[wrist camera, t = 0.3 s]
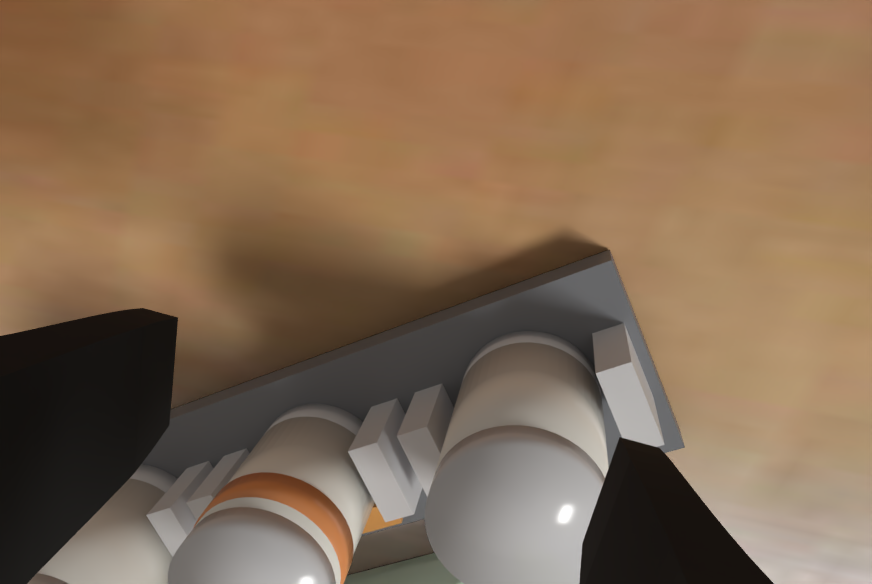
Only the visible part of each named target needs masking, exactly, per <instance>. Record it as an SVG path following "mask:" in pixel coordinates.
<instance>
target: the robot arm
mask: <svg viewBox="0 0 872 584" xmlns="http://www.w3.org/2000/svg"><path fill="white" fill-rule="evenodd" d="M177 322H178V318H177V317H174V316H170V315H166V314H162V313H159V312H155V311H151V310H148V309H144V308H140V309H130V310H123V311H117V312H111V313H106V314H101V315H96V316H91V317H87V318H82V319H78V320H73V321H69V322H64V323H59V324H55V325H50V326H46V327H41V328H37V329H32V330H28V331H23V332H19V333H14V334H9V335H3V336H0V584H27V583H28V582H29V581H30V580H31V579H32V578H33V577H34V576H35V575H36V574H37V573H38V572H39V571H40V570H41V569H42V568H43V567H44V566H45V565H46V564H47V563H48V561H49V560H50V559H51V558H52V557H53V556H54V555H55V554H56V553H57V552H58V551H59V550H60V549H61V548H62V547H63V546H64V545H65V544H66V543H67V542H68V541H69V540H70V539H71V538H72V537H73V536H74V535H75V534H76V533H77V532H78V531H79V530H80V529H81V528H82V527H83V526H84V525H85V524H86V523H87V522H88V521H89V520H90V519H91V518H92V517H93V516H94V515H95V514H96V513H97V512H98V511H99V510H100V509H101V508H102V507H103V506H104V505H105V503H106V502H107V501H108V500H109V499H110V498H111V497H112V496H113V495H114V494H115V493H116V492H117V491H118V490H119V489H120V488H121V487H122V486H123V485H124V484H125V483H126V482H127V481H128V479H129V478H130V477H131V476H132V475H133V474H134V473H135V472H136V471H137V469H138V468H139V467H140V465H141V464H142V463H143V461H144V460H145V459H146V457H147V456H148V455H149V453H150V452H151V451H152V449H153V448H154V446H155V445H156V444H157V442H158V441H159V439H160V438H161V437H162V435H163V434H164V432H165V431H166V429H167V428H168V427H169V424H170V411H171V398H172V386H173V373H174V360H175V347H176V335H177ZM579 584H773V582H772V581H771V580H770V579H769V578H768V577H767V576H766V575H765V574H764V573H763V572H762V570H761V569H760V568H759V567H758V566H757V565H756V564H755V563H754V562H753V561H752V560H751V558H750V557H749V556H748V555H747V554H746V553H745V552H744V551H743V549H742V548H741V547H740V546H739V545H738V544H737V542H736V541H735V540H734V539H733V538H732V537H731V535H730V534H729V533H728V532H727V531H726V529H725V528H724V527H723V526H722V525H721V523H720V522H719V521H718V520H717V518H716V517H715V516H714V515H713V514H712V512H711V511H710V510H709V508H708V507H707V506H706V505H705V503H704V502H703V501H702V500H701V498H700V497H699V496H698V495H697V493H696V492H695V491H694V489H693V488H692V487H691V486H690V484H689V483H688V482H687V481H686V479H685V478H684V477H683V475H682V474H681V473H680V472H679V470H678V469H677V468H676V467H675V465H674V464H673V463H672V462H671V460H670V459H669V458H668V457H667V456H666V454H665V453H664V452H663V451H662V450H661V449H660V448H658V447H655V446H651V445H647V444H643V443H640V442H636V441H632V440H629V439H625V438H621V437H619V440H618V443H617V446H616V449H615V452H614V454H613V457H612V460H611V463H610V466H609V469H608V471H607V474H606V477H605V480H604V483H603V486H602V489H601V491H600V494H599V497H598V500H597V503H596V506H595V508H594V511H593V514H592V517H591V520H590V523H589V526H588V528H587V531H586V534H585V537H584V540H583V543H582V555H581V568H580V583H579Z"/></svg>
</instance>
